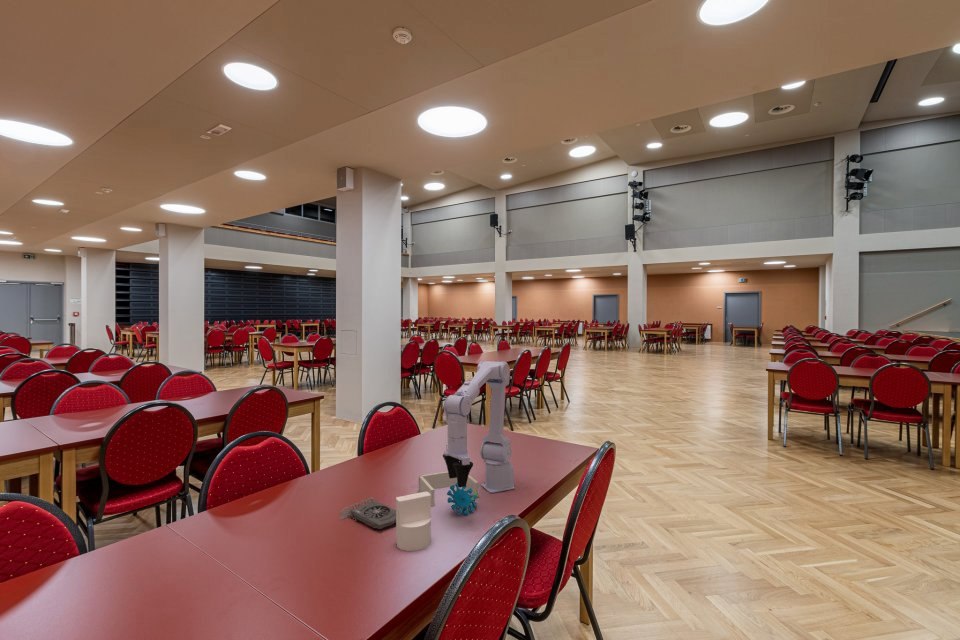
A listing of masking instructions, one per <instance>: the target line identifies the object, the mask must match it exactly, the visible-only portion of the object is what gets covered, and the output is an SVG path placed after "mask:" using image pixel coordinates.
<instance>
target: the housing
mask: <svg viewBox="0 0 960 640" xmlns="http://www.w3.org/2000/svg"><path fill="white" fill-rule="evenodd" d="M456 483H457V478H451V479H450V478H449V474H448V470H447V471H441V472H435V473H428V474H423V475H422V474H421V475H418V492H419V493H421V492H426V491H427V492H429V493H430V494H431V507H434V506H435V490H436V489H441V488H448V487H449V488H450V486H452V485H454V486H455V484H456ZM466 485H467V487H466V488H465V489H464V490H465V491H467V490H469V489H470V488H471V489H472V491H473V492H472V493H469V494H470V495H475V494H476V493H478V494H479V482H478V481H477V480H476V479H474V477H472V476H471V475H470V474H469V475H468V479H467V484H466ZM455 487H456V486H455ZM477 498H479V496H478V497H477ZM477 498H476V499H477Z"/></svg>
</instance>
